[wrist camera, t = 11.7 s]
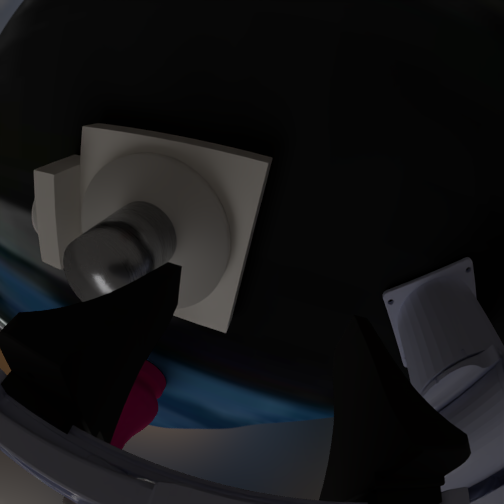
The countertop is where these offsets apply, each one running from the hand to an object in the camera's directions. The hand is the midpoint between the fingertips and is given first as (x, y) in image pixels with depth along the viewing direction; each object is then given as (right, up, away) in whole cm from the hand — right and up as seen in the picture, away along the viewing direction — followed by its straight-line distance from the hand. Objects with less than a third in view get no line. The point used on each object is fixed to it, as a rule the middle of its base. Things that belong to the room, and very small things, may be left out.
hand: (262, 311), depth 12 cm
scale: (-9, +5, +11) cm, 15 cm away
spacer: (-8, +4, +8) cm, 12 cm away
